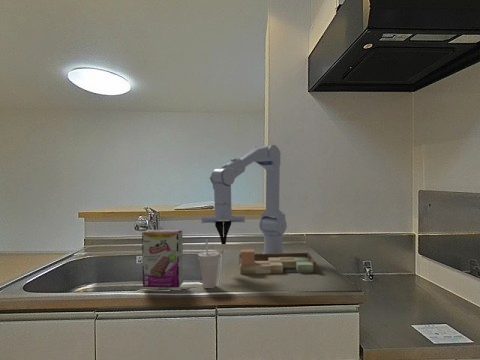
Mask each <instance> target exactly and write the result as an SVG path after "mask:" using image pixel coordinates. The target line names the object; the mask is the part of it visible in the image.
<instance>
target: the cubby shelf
mask: <svg viewBox="0 0 480 360" xmlns="http://www.w3.org/2000/svg"><path fill="white" fill-rule="evenodd" d="M238 257H239V266H240V268H239V269H240V271H239V272H240V275H243V274H244V275H247V274H249V275H250V274H251V275H252V274H256V275H257V274H308V273H311V274H317V262H316V261H315V259H314V258H313V257H312V256H311V254H310V253H309V252H288V253H287V252H286V253H284V252H282V253H273V254H263V253H254V257H255V265H252V266H241V253H240V254H239V256H238Z"/></svg>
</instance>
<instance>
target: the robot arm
mask: <svg viewBox="0 0 480 360" xmlns="http://www.w3.org/2000/svg"><path fill="white" fill-rule="evenodd" d="M252 163H256V164H257V165H259V166H261V167H262V168H264V170H265V209H264V211H262V213H261V214H260V220H259V229H260V232H262V234H263V242H264V243H263V247H264V250H263V251H262V254H273V253H283V235H284V234H285V232H286V230H287V226H288V225H287V220H286V214H285V213H284V212H282V211H281V210H280V179H281V178H280V171H281V169H280V166H281V150H280V149H279V147H278V146H277V145H276V144H271V145H264V146H262V145H261V146H253V147H252V148H250V151H248V152H247V153H246V154H245V155H243V156H241V157H239V158H238V157H232V158H231V159H230V161H229V162H228V163H226V164H224V163H223V165H222V166H221V167H220V168H215V169H213V171H212V172H211V175H210V177H209V179H210V183H211V184H212V189H213V194H214V197H213V199H214V201H213V203H214V215H213V216H211V215H210V216H201V224H208V223H209V224H211V223H212V224H214V223H215V225H214V226H215V228H216V230H217V232H218V235H219V238H220V241H221V242H220V243H221V245H227V238H228V233H229V231H230V228H231V225H232V223H245V222H246V221H245V220H246V219H245V218H246V217H245V215H232V212H233V211H232V185H233V184H234V182H235V179H236V178H238V177H239V176H240V175H242V174H243V173H244V172H245V171H246V168H247V167H248V166H249V165H251V164H252Z"/></svg>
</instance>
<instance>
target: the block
mask: <svg viewBox="0 0 480 360" xmlns="http://www.w3.org/2000/svg"><path fill="white" fill-rule="evenodd" d="M240 254H241V266H252V265H255V257H254V254H255V249H254V248H243V249H242V248H241V249H240Z"/></svg>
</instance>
